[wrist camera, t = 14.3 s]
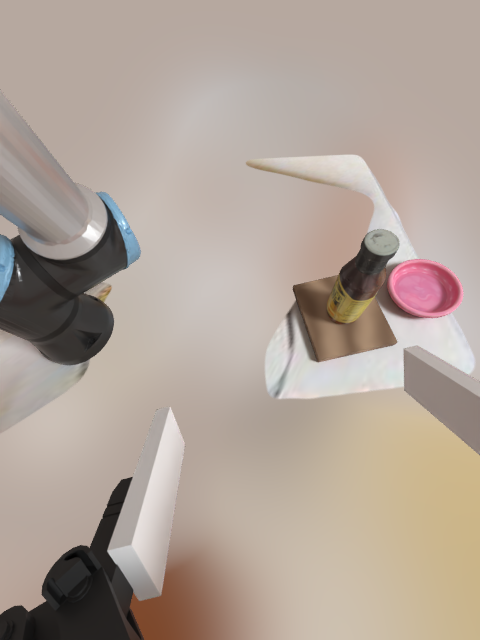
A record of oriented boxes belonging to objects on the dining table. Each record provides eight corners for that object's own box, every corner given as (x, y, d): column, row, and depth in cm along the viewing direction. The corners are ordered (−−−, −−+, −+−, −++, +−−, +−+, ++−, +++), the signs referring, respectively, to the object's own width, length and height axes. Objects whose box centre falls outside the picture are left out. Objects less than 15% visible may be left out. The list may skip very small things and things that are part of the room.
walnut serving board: (318, 362, 47) (319, 360, 46) (292, 289, 54) (293, 285, 53) (394, 345, 47) (397, 342, 45) (358, 274, 54) (360, 269, 52)
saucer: (397, 328, 48) (405, 320, 45) (373, 273, 54) (379, 264, 51) (465, 317, 48) (478, 309, 45) (435, 263, 53) (444, 253, 50)
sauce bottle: (327, 294, 51) (357, 214, 33) (361, 300, 49) (411, 221, 32) (322, 324, 48) (351, 255, 30) (357, 331, 47) (409, 263, 29)
